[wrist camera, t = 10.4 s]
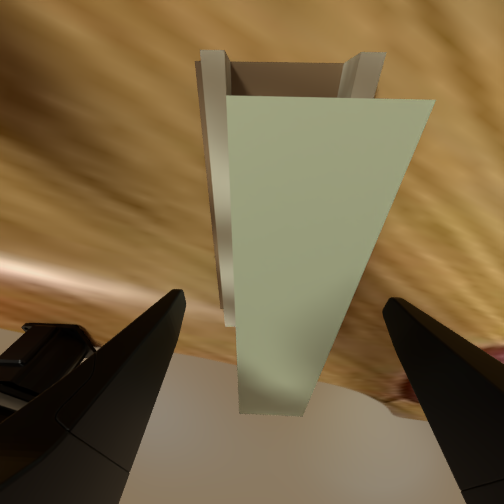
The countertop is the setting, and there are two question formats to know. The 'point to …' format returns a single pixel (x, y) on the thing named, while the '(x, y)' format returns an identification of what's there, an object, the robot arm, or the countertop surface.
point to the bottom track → (261, 84)
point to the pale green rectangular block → (306, 228)
